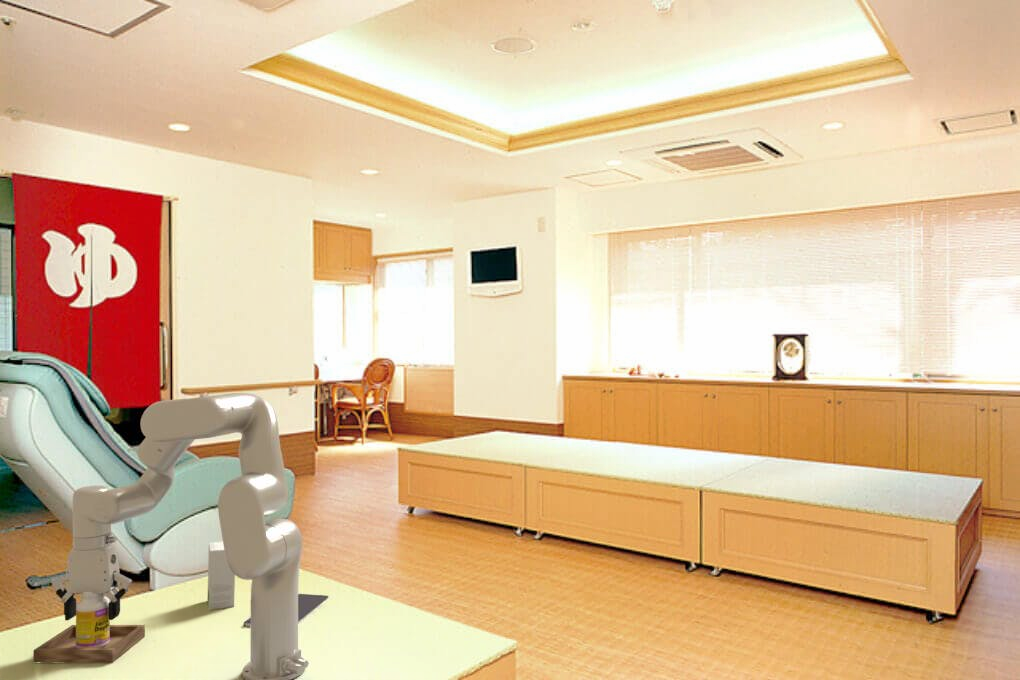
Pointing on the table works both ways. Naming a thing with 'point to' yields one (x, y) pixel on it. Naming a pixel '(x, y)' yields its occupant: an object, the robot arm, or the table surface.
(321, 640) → the table surface
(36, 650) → the holder tray
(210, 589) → the skincare box
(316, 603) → the notebook
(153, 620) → the table surface
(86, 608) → the supplement bottle
